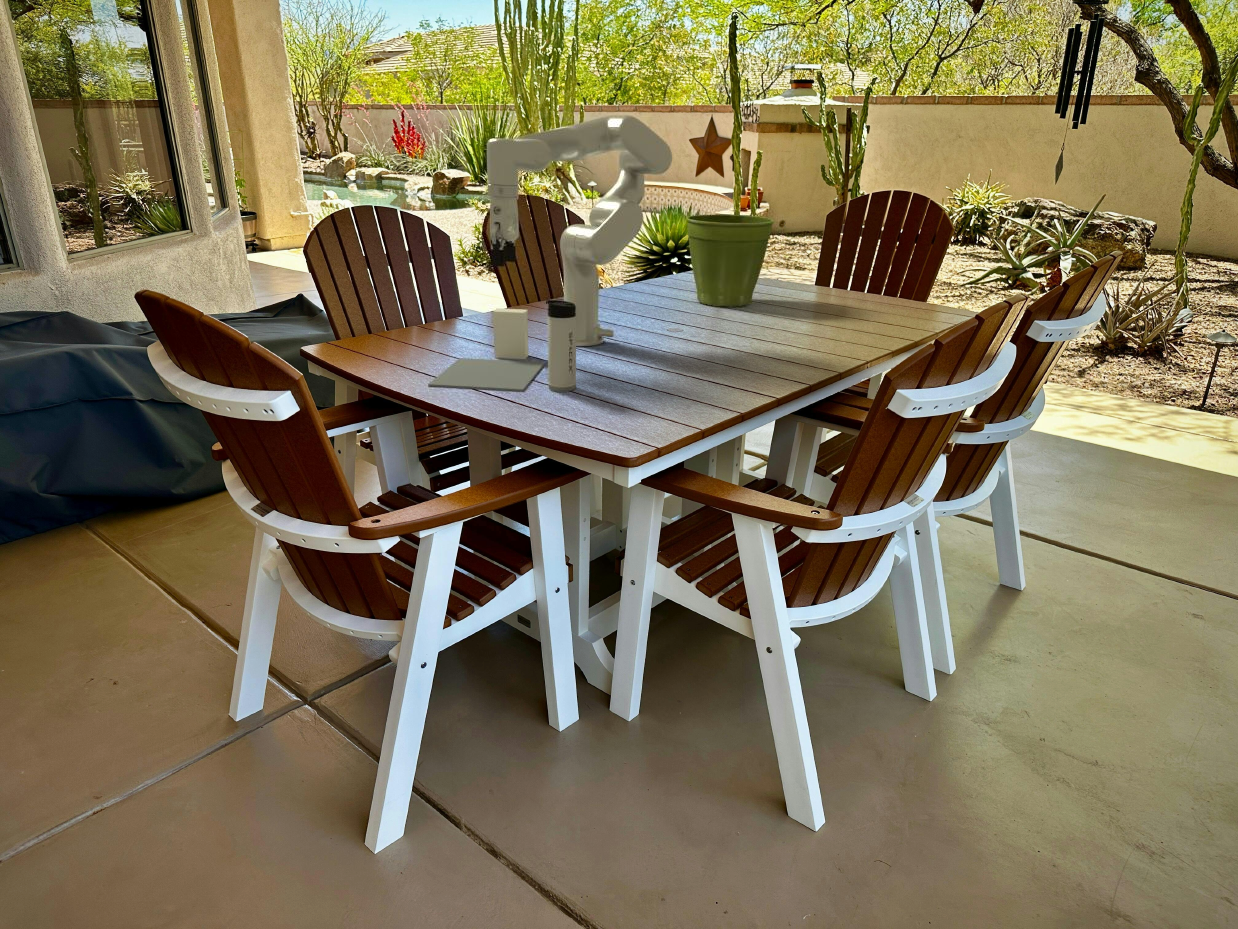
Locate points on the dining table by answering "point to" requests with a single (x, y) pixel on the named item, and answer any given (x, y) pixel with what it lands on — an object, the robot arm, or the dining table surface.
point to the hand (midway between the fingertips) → (503, 263)
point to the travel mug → (561, 345)
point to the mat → (488, 374)
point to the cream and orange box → (510, 333)
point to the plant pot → (727, 256)
